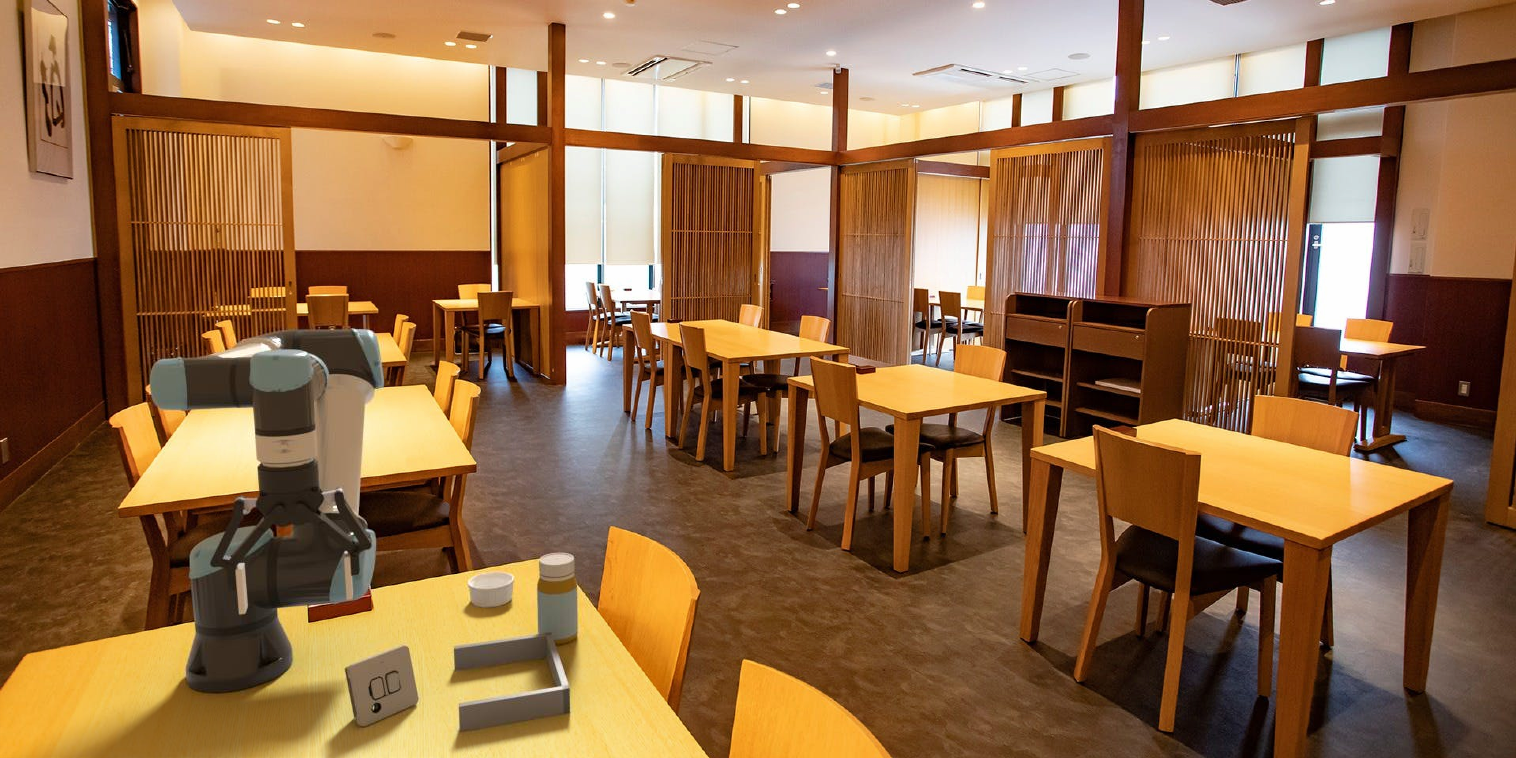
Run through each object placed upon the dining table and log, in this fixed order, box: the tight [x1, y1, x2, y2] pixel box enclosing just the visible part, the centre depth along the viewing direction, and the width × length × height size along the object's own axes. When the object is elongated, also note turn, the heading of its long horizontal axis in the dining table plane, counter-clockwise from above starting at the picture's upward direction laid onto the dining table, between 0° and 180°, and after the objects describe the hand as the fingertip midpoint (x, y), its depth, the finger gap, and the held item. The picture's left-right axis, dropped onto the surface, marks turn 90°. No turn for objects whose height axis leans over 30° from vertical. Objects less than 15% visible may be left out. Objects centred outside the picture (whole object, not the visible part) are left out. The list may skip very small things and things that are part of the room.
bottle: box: [536, 552, 579, 646], centre depth 155 cm, size 7×7×15 cm
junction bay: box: [453, 632, 571, 733], centre depth 138 cm, size 20×16×4 cm
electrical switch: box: [344, 644, 420, 727], centre depth 131 cm, size 9×5×9 cm, turn 141°
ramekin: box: [467, 571, 515, 608], centre depth 171 cm, size 9×9×4 cm
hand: (297, 603), depth 124 cm, fingers open, 13 cm apart
